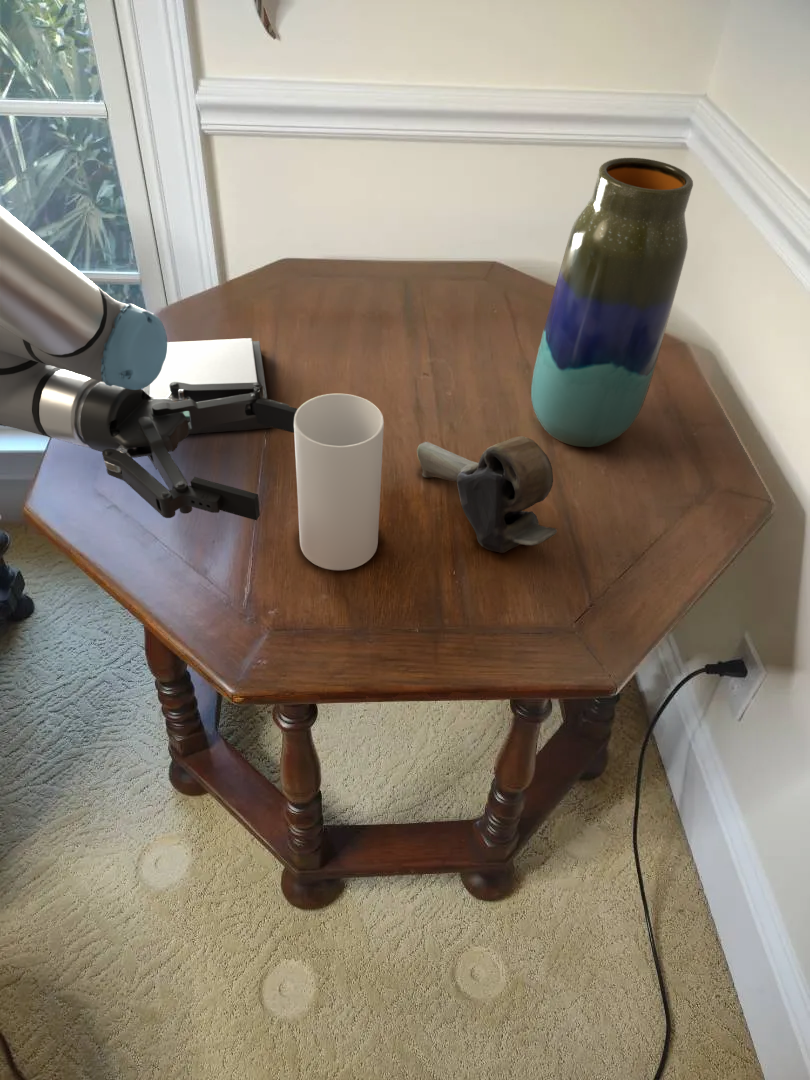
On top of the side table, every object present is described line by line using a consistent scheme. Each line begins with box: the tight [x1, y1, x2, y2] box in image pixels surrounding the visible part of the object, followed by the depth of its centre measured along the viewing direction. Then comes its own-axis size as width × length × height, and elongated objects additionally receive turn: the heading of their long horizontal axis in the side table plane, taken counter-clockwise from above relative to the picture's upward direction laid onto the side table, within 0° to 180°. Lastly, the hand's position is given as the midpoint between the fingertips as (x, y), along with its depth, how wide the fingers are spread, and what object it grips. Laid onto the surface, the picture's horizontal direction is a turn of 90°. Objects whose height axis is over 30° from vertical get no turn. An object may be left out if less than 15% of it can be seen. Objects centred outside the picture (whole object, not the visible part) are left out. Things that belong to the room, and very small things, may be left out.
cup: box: [293, 393, 385, 571], centre depth 76 cm, size 8×8×16 cm
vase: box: [530, 157, 694, 448], centre depth 87 cm, size 14×14×31 cm
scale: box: [142, 337, 272, 435], centre depth 98 cm, size 15×17×3 cm
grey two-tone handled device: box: [416, 435, 558, 554], centre depth 82 cm, size 21×6×12 cm, turn 35°
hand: (287, 464), depth 76 cm, fingers open, 13 cm apart
